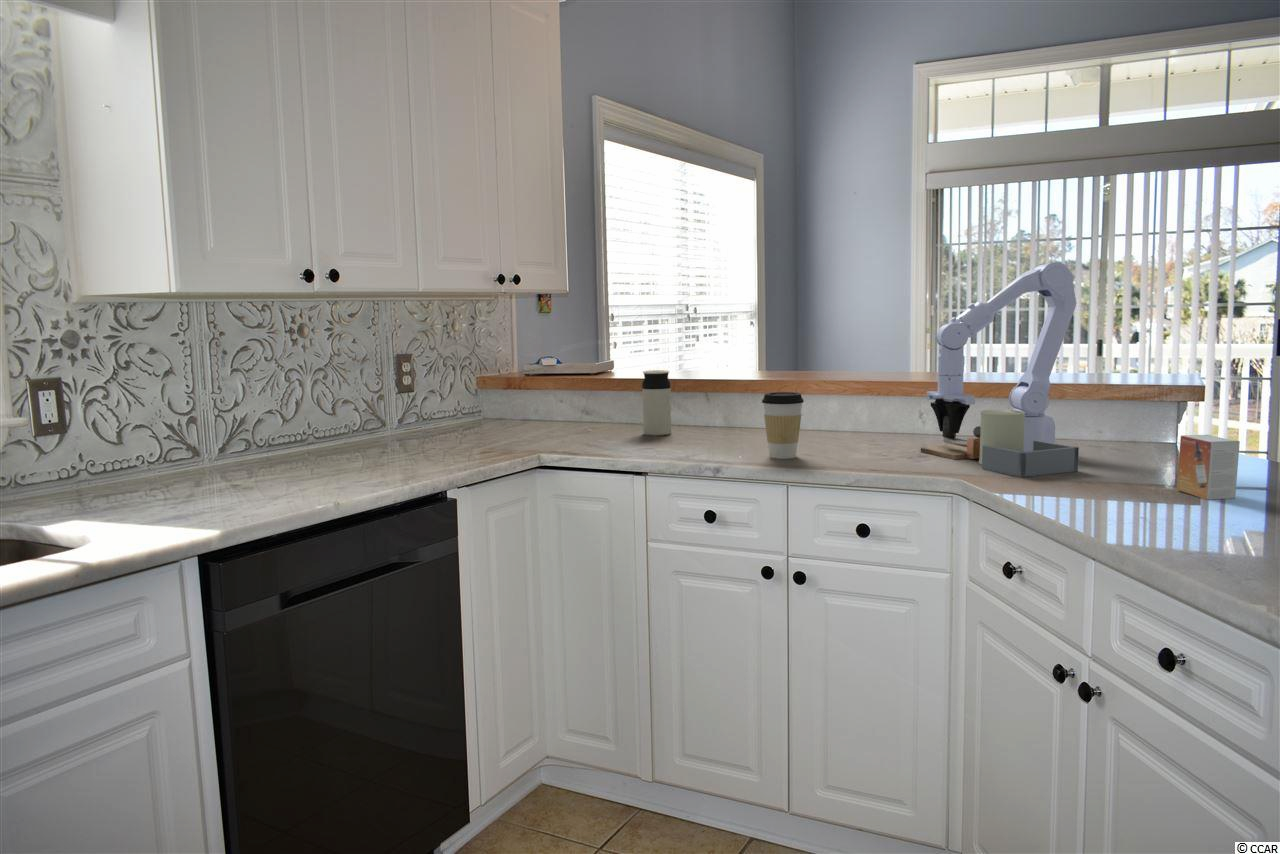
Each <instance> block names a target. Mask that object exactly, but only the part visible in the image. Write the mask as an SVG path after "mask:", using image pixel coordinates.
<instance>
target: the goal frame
mask: <svg viewBox="0 0 1280 854" xmlns="http://www.w3.org/2000/svg"><path fill="white" fill-rule="evenodd" d="M1079 448H1080V447H1078V446H1073V445H1072V446H1071V445H1067V444H1062V443H1061V444H1060V443H1050V442H1044V441H1039V440H1034V441H1033V451H1029V452H1020V451H1015V450H1010V449H1004V448H999V447H994V446H988V445H983V449H982V465H981V469H982V468H983V470H987V469H988V471H991V470H992V472H996V473H999V474H1000V473H1001V474H1004V473H1005V475H1010V476H1013V475H1014V476H1015V477H1019V478H1026V477H1027V476H1029V477H1037V475H1038V476H1046V475H1054V474H1061V473H1062V474H1064V473H1071V472H1078V471H1079V470H1078V469H1079V454H1080V453H1079V452H1080V451H1079V450H1080V449H1079ZM1027 478H1028V477H1027Z"/></svg>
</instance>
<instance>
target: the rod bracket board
mask: <svg viewBox="0 0 1280 854" xmlns="http://www.w3.org/2000/svg"><path fill="white" fill-rule="evenodd" d="M920 452H921V453H923V454H924V453H925V454H928V455H934V456H937V457H942V458H947V459H951V460H960V459H961V460H962V459H968V458H967V447H964V446H959V445H954V444H947V445H946V444H945V445H936V446H935V445H934V446H927V447H920Z"/></svg>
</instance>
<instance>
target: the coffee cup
mask: <svg viewBox="0 0 1280 854" xmlns="http://www.w3.org/2000/svg"><path fill="white" fill-rule="evenodd" d="M804 402H805V400H804V398H803V397H802V394H801V393H800V392H796V391H795V392H794V391H793V392H792V391H791V392H790V391H780V392H779V391H778V392H776V391H773V392H766V393H764V395H763V398H762V399H761V403H762V404H763V411H764V415H763V416H764V417H763V418H764V424H765V433H766V440H767V444H768V452H769V458H772V459H777V460H778V459H780V460H782V459H783V460H786V459H795V458H796V457H797V451H798V450H797V449H798V443H799V437H800V429H801V421H802V408H803V407H802V406H803V403H804Z"/></svg>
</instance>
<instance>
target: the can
mask: <svg viewBox="0 0 1280 854" xmlns="http://www.w3.org/2000/svg"><path fill="white" fill-rule="evenodd" d="M1024 421H1025V412H1023V411H1016V410H1013V409H986V410H981V411H980V426H981V430H980V458H978V459H979V460H978V464H980V465H981V466H982V449H983V445H988V446H994V447H999V448H1004V449H1010V450H1015V451H1020V452H1023V446H1024Z"/></svg>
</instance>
